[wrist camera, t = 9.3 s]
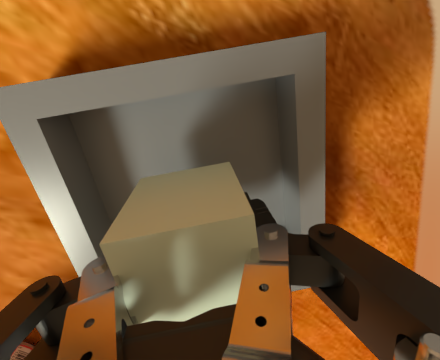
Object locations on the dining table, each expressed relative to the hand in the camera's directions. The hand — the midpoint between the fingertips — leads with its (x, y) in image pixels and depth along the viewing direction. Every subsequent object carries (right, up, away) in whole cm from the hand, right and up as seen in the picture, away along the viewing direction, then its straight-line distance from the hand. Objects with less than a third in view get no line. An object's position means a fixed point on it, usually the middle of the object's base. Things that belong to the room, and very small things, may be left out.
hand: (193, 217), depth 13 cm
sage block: (0, 0, +1) cm, 1 cm away
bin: (0, +2, +5) cm, 5 cm away
